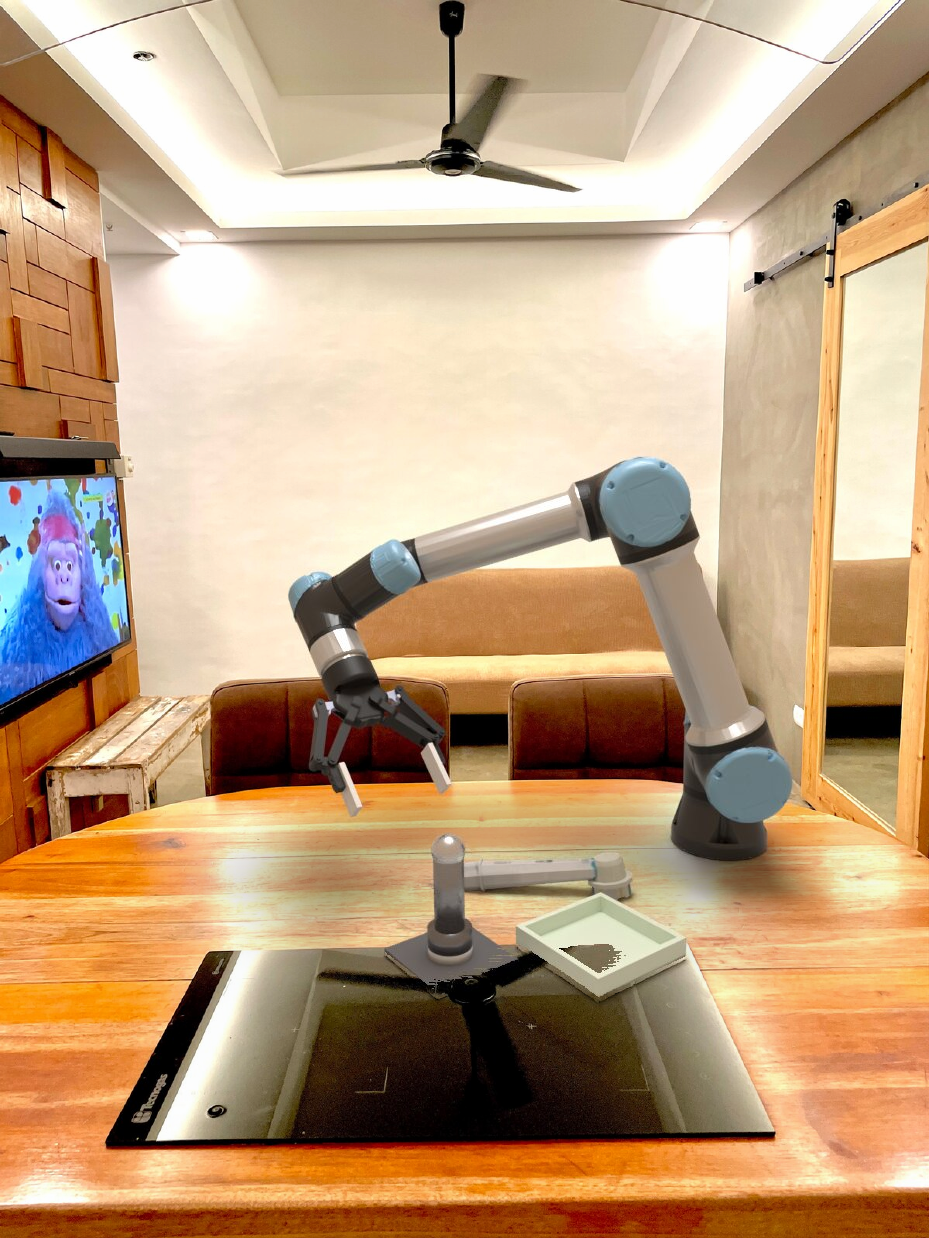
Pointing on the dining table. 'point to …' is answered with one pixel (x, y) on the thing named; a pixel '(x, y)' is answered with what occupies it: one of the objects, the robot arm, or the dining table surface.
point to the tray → (602, 941)
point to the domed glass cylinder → (449, 899)
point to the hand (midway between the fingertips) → (402, 800)
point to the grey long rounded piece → (552, 873)
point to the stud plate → (447, 958)
